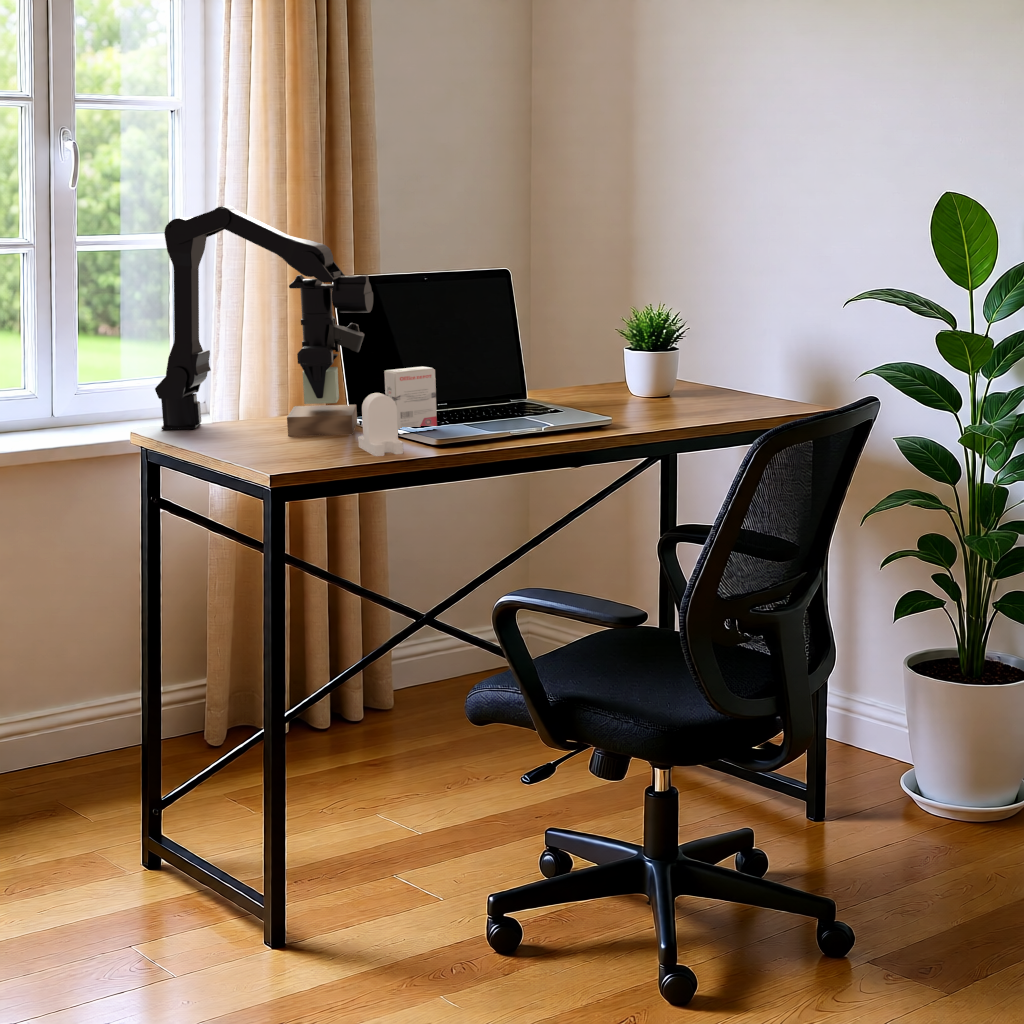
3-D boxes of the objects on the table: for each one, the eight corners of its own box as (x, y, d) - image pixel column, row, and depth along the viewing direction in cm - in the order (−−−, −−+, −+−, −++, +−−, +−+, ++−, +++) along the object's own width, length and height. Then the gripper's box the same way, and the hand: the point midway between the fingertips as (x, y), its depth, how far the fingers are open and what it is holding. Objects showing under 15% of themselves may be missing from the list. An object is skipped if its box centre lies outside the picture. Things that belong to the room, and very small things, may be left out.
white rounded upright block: (375, 456, 239) (372, 399, 237) (357, 446, 248) (355, 391, 246) (404, 453, 241) (402, 396, 239) (386, 443, 250) (383, 388, 248)
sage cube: (304, 403, 260) (302, 372, 259) (307, 398, 266) (305, 367, 265) (336, 403, 261) (334, 371, 259) (339, 397, 266) (337, 366, 265)
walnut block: (288, 438, 259) (286, 417, 258) (295, 426, 270) (294, 406, 269) (352, 436, 259) (351, 415, 258) (357, 424, 271) (356, 404, 270)
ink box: (426, 426, 266) (424, 364, 263) (438, 430, 261) (436, 367, 259) (385, 431, 261) (383, 368, 258) (397, 435, 257) (394, 372, 254)
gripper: (357, 317, 250) (360, 402, 254) (363, 306, 269) (367, 386, 272) (294, 318, 250) (299, 404, 254) (305, 307, 268) (310, 388, 272)
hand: (321, 395), depth 263 cm, fingers closed on sage cube, 6 cm apart
